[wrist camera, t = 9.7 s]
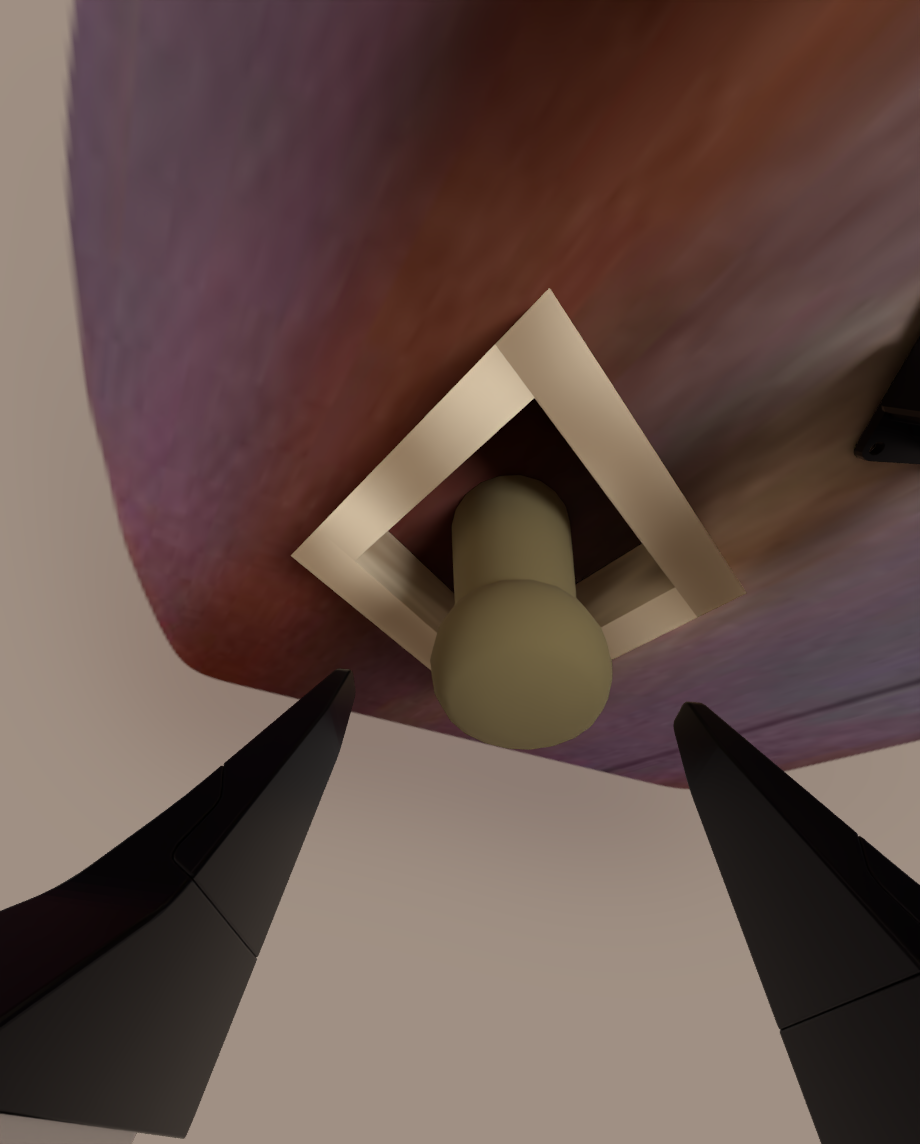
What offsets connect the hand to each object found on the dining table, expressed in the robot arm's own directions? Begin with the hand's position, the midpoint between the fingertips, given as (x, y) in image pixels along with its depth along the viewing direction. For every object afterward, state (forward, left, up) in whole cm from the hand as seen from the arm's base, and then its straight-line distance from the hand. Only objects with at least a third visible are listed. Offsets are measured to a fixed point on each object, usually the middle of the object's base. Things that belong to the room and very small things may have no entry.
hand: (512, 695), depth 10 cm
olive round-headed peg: (0, 0, -11) cm, 11 cm away
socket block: (0, 0, -10) cm, 10 cm away
